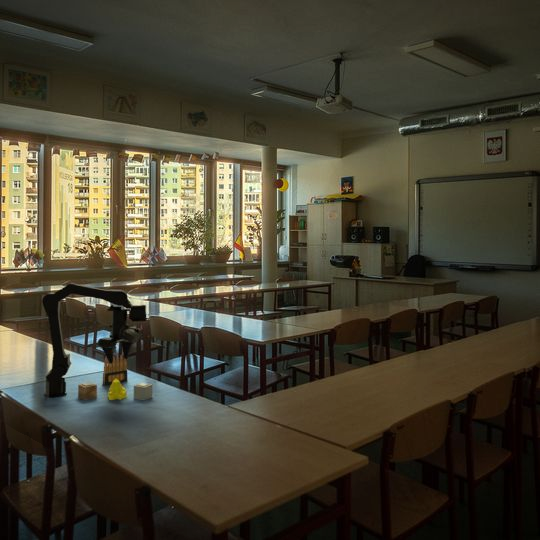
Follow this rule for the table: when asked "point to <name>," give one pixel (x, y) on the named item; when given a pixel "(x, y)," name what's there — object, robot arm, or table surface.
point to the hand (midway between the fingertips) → (118, 361)
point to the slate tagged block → (142, 391)
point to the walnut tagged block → (87, 391)
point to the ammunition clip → (115, 371)
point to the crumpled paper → (116, 391)
